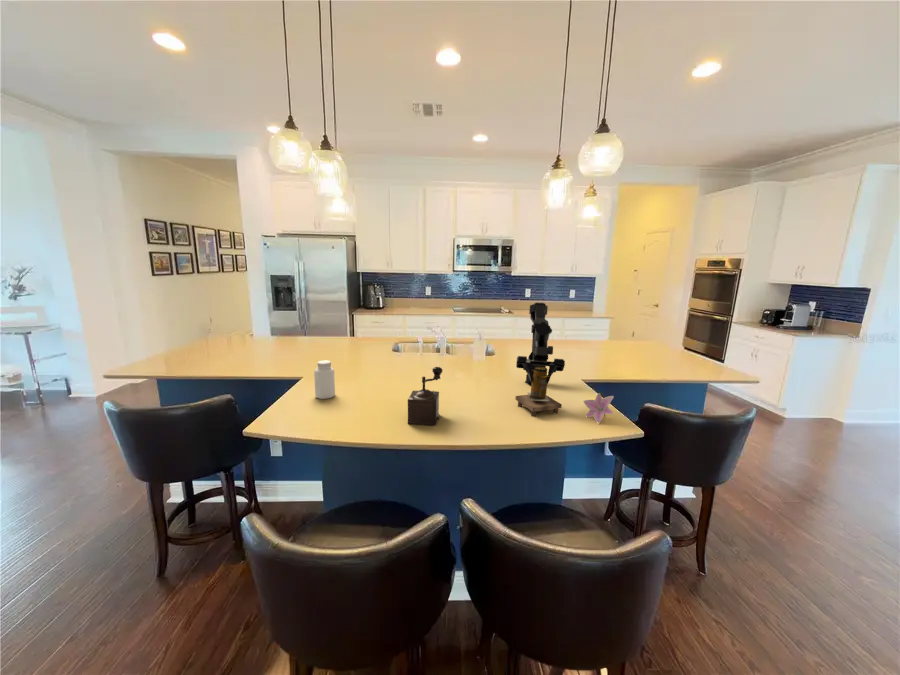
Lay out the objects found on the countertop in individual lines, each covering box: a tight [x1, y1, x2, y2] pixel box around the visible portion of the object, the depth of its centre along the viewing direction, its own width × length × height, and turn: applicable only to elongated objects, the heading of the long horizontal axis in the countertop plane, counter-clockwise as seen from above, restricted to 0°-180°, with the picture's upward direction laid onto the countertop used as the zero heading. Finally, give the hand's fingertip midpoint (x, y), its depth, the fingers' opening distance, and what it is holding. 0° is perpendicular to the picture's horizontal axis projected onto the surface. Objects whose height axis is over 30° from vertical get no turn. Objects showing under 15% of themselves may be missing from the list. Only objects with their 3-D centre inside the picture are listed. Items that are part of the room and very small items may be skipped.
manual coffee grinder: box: [407, 366, 443, 427], centre depth 138 cm, size 16×11×18 cm
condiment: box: [527, 366, 550, 401], centre depth 147 cm, size 7×8×12 cm
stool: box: [514, 394, 563, 418], centre depth 149 cm, size 13×13×4 cm
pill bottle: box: [313, 359, 336, 400], centre depth 156 cm, size 8×8×15 cm
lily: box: [583, 392, 615, 424], centre depth 141 cm, size 12×12×10 cm
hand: (539, 382), depth 145 cm, fingers closed on condiment, 6 cm apart
